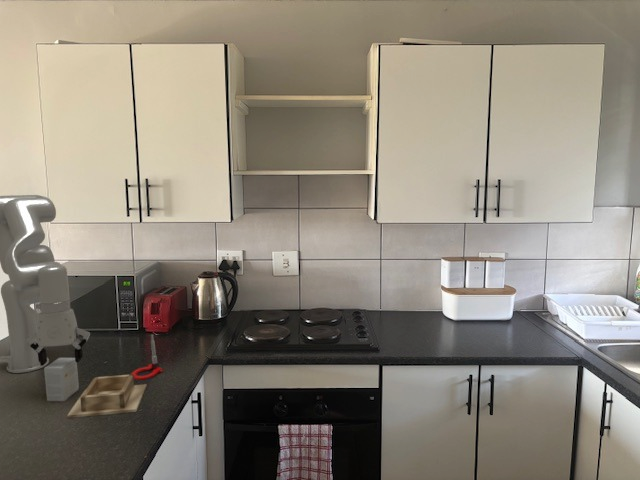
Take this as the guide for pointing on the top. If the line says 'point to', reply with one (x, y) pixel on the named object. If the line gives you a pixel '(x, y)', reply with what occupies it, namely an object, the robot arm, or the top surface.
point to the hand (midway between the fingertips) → (61, 362)
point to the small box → (61, 379)
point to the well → (109, 397)
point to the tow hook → (153, 365)
